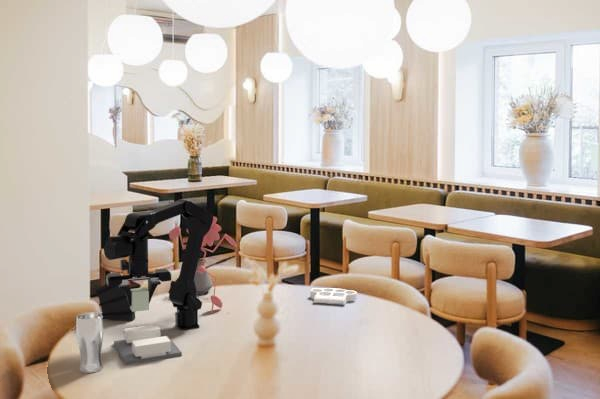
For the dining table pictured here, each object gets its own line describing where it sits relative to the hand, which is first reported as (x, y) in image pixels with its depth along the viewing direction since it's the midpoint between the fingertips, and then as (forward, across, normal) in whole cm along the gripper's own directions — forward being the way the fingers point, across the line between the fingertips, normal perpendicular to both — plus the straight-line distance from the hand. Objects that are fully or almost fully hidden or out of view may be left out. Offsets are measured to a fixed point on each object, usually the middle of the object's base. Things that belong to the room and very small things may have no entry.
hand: (139, 304), depth 191 cm
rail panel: (+12, 0, +8) cm, 14 cm away
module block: (+1, 0, 0) cm, 1 cm away
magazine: (+12, +4, -26) cm, 29 cm away
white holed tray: (+12, -76, -18) cm, 79 cm away
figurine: (+12, -28, -27) cm, 41 cm away
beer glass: (+12, +16, +16) cm, 26 cm away
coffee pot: (+12, -36, -47) cm, 60 cm away
